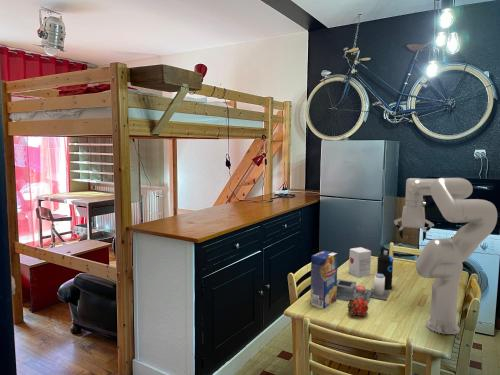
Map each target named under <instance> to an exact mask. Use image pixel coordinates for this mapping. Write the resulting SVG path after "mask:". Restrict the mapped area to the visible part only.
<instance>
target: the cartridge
mask: <svg viewBox="0 0 500 375" xmlns="http://www.w3.org/2000/svg"><path fill="white" fill-rule="evenodd" d="M384 287H385V277H384V275H383V274H377V273H376V274H375V275H374V282H373V289H374V294H375V295H378V296H383V295H384Z"/></svg>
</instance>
